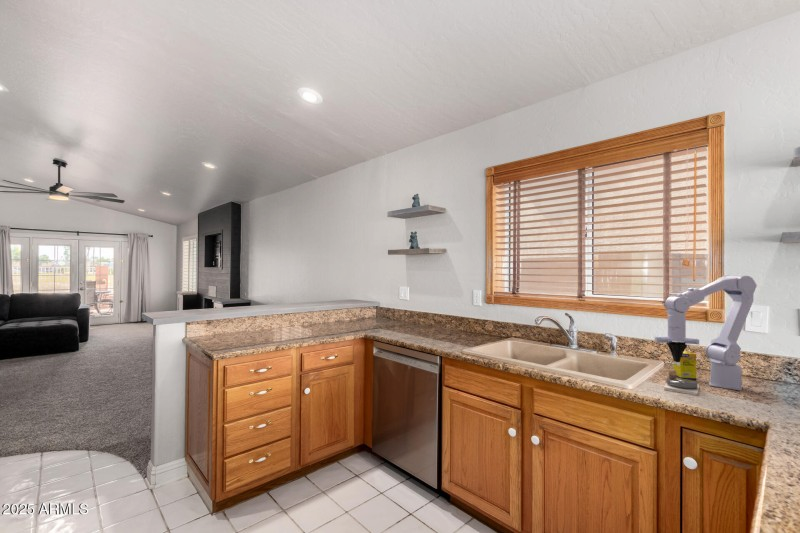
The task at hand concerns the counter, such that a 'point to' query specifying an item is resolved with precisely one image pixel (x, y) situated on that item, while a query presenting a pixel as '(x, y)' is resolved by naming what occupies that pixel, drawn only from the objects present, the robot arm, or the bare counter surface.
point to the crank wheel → (680, 381)
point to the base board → (681, 389)
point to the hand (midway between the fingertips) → (676, 361)
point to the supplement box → (686, 366)
